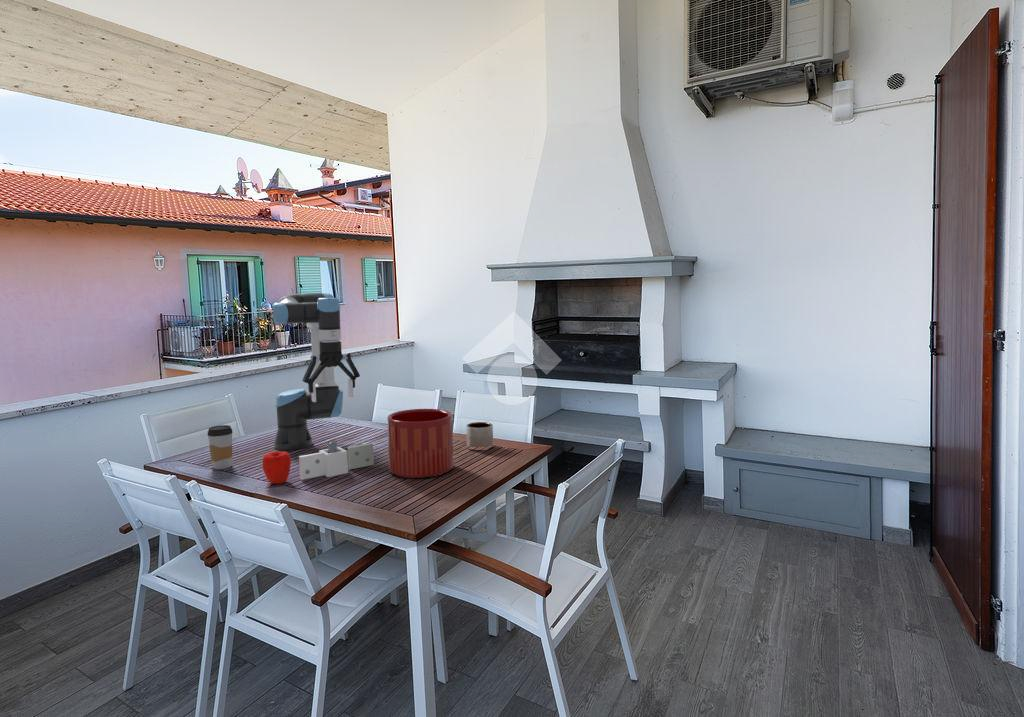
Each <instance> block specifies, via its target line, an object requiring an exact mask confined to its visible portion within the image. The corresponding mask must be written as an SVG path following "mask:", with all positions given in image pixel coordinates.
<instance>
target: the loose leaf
mask: <svg viewBox="0 0 1024 717" xmlns="http://www.w3.org/2000/svg"><path fill="white" fill-rule="evenodd" d="M374 460H375V459H374V443H372V442H369V443H362V444H356V445H352V446H347V462H348V470H353V469H360V468H365V467H369V466H374V465H375V463H374V462H375V461H374Z"/></svg>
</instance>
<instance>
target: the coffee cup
mask: <svg viewBox="0 0 1024 717" xmlns="http://www.w3.org/2000/svg"><path fill="white" fill-rule="evenodd" d="M233 432H234V431H233V429H232V427H231V425H229V424H224V425H222V424H221V425H214V426H211V427H209V428H208V431H207V437H208V443H209V444H208V445H209V453H210V459H211V464H212V467H213V470H226V469H229V468H231V467H232V465H233Z"/></svg>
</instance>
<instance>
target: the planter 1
mask: <svg viewBox="0 0 1024 717" xmlns="http://www.w3.org/2000/svg"><path fill="white" fill-rule="evenodd" d="M453 425H454V424H453V413H452V412H451V411H448V410H445V409H439V408H414V409H413V408H412V409H404V410H399V411H395V412H393V413H390V414H389V415H388V416H387V448H388V453H387V454H388V470H389V471H390V473H392V474H393V475H395V476H397V477H400V478H404V477H406V478H405V479H415V478H418V479H424V478H423V477H430V478H432V477H431V476H435V475H439V474H442V473H444V474H446V473H448V472H449V470H450V469H451V468H452V469H453V467H454V433H453V431H454V430H453V429H454V428H453ZM452 469H451V470H452ZM451 470H450V471H451ZM447 471H448V472H447ZM445 472H446V473H445ZM442 475H443V474H442ZM439 476H440V475H439ZM435 477H436V476H435Z"/></svg>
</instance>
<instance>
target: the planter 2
mask: <svg viewBox="0 0 1024 717" xmlns="http://www.w3.org/2000/svg"><path fill="white" fill-rule="evenodd" d="M493 432H494V426H493V423H490V422H486V421H485V422H484V421H477V422H476V421H475V422H470V423H467V424H466V447H467V446H469V447H476V448H477V447H487V446H490V445H492V444H493V445H494V433H493Z"/></svg>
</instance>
